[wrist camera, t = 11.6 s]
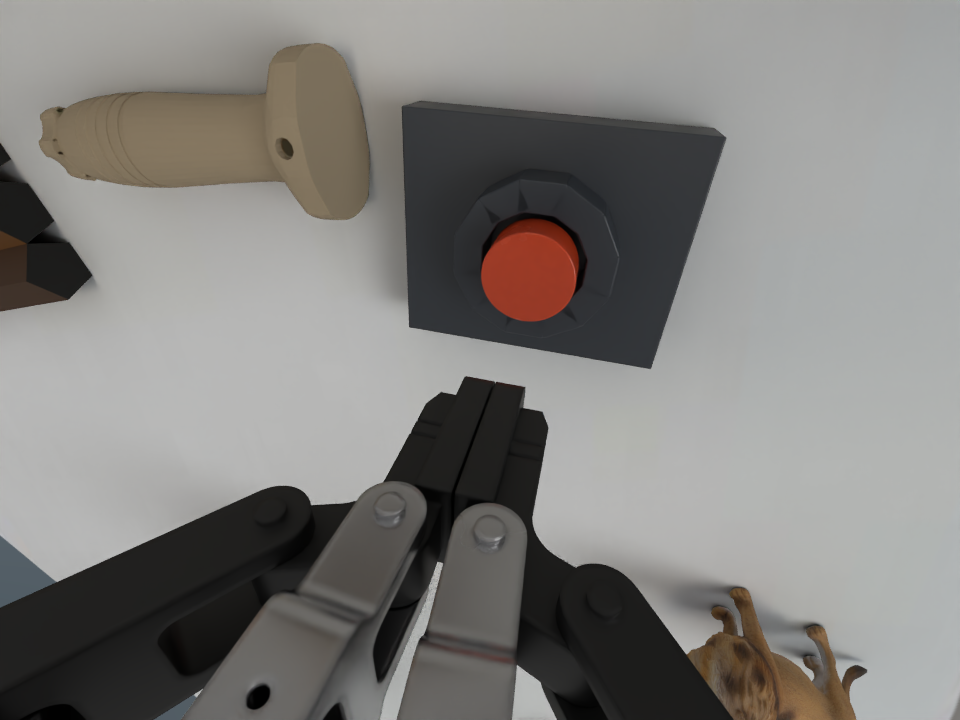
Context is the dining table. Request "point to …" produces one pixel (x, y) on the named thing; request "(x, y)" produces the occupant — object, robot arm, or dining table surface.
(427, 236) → the button housing
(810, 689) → the lion figurine
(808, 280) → the dining table surface
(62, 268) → the pan flute
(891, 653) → the dining table surface
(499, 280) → the button
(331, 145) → the handle
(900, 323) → the dining table surface
